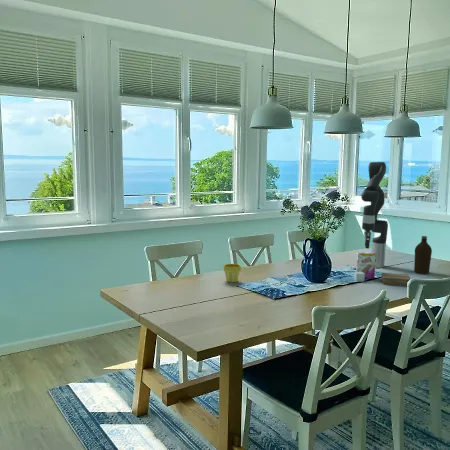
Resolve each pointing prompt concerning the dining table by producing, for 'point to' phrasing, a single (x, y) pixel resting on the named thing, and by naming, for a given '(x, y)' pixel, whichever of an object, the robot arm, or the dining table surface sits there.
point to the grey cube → (359, 276)
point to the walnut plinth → (395, 279)
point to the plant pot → (232, 272)
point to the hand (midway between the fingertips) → (366, 247)
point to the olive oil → (422, 257)
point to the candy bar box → (366, 263)
